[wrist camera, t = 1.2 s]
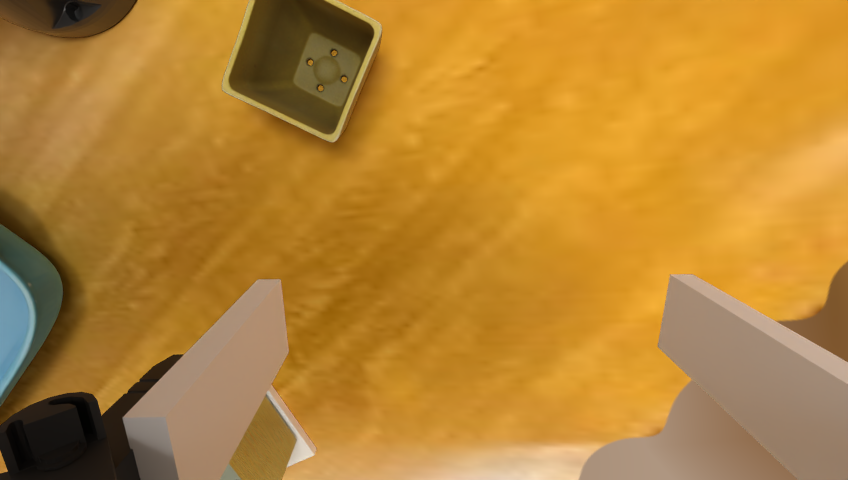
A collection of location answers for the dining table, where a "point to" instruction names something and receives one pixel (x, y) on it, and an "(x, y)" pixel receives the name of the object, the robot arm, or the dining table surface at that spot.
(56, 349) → the dining table surface
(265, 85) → the flower pot
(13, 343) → the casserole dish
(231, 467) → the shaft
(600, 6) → the dining table surface
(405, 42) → the dining table surface
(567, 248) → the dining table surface
